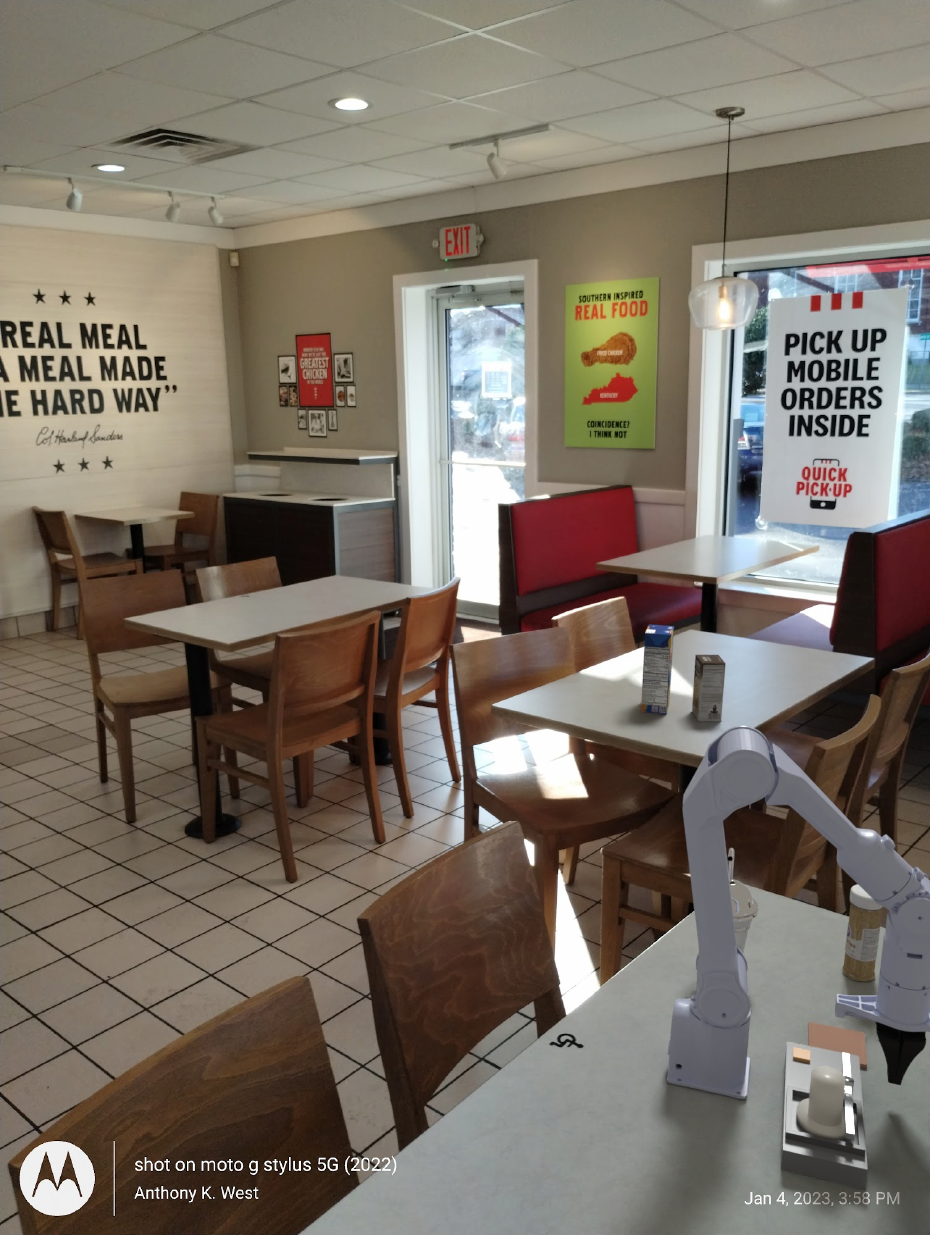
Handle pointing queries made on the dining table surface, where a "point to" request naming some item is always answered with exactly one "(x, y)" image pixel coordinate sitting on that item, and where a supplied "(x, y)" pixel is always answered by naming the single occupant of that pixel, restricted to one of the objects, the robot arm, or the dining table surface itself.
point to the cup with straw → (741, 905)
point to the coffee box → (708, 687)
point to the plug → (824, 1104)
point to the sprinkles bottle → (862, 936)
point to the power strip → (812, 1151)
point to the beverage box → (657, 669)
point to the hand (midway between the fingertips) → (893, 1079)
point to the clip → (848, 1097)
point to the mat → (838, 1040)
